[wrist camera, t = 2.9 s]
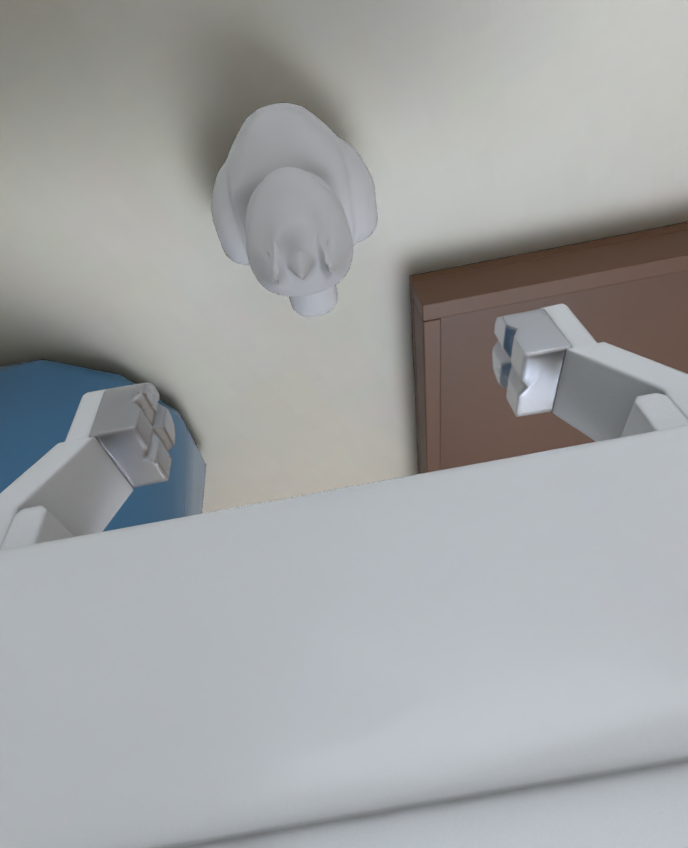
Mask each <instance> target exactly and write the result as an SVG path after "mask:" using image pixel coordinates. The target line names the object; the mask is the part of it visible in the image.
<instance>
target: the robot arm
mask: <svg viewBox="0 0 688 848" xmlns="http://www.w3.org/2000/svg"><path fill="white" fill-rule="evenodd" d="M494 333H495V335H496V337H497V338H498V342H497V343H496V344H495V345H494V347H493V349H492V364H493V371H494V374H495V377H496V379H497V381H498V383H499V385H500V386H502V387H504V388H506V389H507V393H506V399H507V401H508V403H509V404H510V406H511V408H512V410H513V412H514V414H515V416H516V417H520V416H526V415H532V414H539V413H545V412H551V411H553V412H552V413H553V414H555V415H556V416H558V417H559V418H561V419H562V420H564V421H565V422H567V423H568V424H570V425H571V426H573V427H574V428H576V429H577V430H579V431H580V432H582V433H583V434H585V435H587V436H588V437H590V438H591V439H593V440H594V441H596V442H592V443H587V444H581V445H576V446H570V447H565V448H559V449H554V450H549V451H543V452H538V453H533V454H527V455H522V456H516V457H511V458H505V459H499V460H494V461H488V462H483V463H477V464H472V465H466V466H461V467H455V468H450V469H444V470H439V471H433V472H427V473H422V474H416V475H411V476H405V477H400V478H394V479H389V480H383V481H378V482H372V483H367V484H361V485H356V486H351V487H345V488H340V489H334V490H329V491H323V492H318V493H312V494H307V495H301V496H296V497H291V498H285V499H280V500H274V501H269V502H263V503H258V504H252V505H247V506H241V507H236V508H230V509H225V510H219V511H214V512H208V513H203V514H197V515H192V516H186V517H181V518H175V519H170V520H164V521H159V522H153V523H148V524H142V525H137V526H131V527H126V528H120V529H115V530H109V531H104V532H103V530H104V529H105V528H106V526H107V525H108V524H109V522H110V521H111V520H112V518H113V517H114V516H115V514H116V513H117V512H118V510H119V509H120V508H121V506H122V505H123V504H124V502H125V501H126V500H127V498H128V497H129V496H130V494H131V493H132V492H133V490H134V489H133V488H136V487H141V486H146V485H151V484H155V483H160V482H165V481H168V479H169V473H170V467H171V462H172V459H171V457H170V455H169V454H168V452H169V450H170V449H171V448H172V447H173V446H174V443H175V427H174V422H173V419H172V416H171V414H170V412H169V410H168V409H167V408H166V407H164V406H162V405H161V404H159V403H158V401H159V396H160V394H159V392H158V391H157V389H156V387H155V386H154V384H152V383H150V382H145V383H139V384H133V385H127V386H121V387H115V388H109V389H104V390H98V391H93V392H87V393H86V394H84V395H83V396H82V399H81V401H80V404H79V406H78V409H77V412H76V414H75V417H74V419H73V422H72V424H71V427H70V430H69V432H68V435H67V437H66V440H65V442H61V443H58V444H57V445H56V446H54V447H53V448H52V449H51V450H50V451H49V452H47V453H46V454H45V455H44V456H43V457H42V458H41V459H39V460H38V461H37V462H36V463H35V464H34V465H32V466H31V467H30V468H29V469H28V470H27V471H26V472H24V473H23V474H22V475H21V476H20V477H19V478H17V479H16V480H15V481H14V482H13V483H12V484H11V485H9V486H8V487H7V488H6V489H5V490H4V491H2V492H1V493H0V848H688V374H687V373H684V372H682V371H679V370H676V369H674V368H671V367H668V366H666V365H663V364H661V363H658V362H655V361H653V360H650V359H647V358H645V357H642V356H640V355H637V354H634V353H632V352H629V351H627V350H624V349H621V348H619V347H616V346H613V345H611V344H608V343H606V342H601V343H597V342H596V341H595V339H594V338H593V337H592V336H591V335H590V333H589V332H588V331H587V330H586V329H585V327H584V326H583V325H582V324H581V322H580V321H579V320H578V319H577V318H576V316H575V315H574V314H573V313H572V312H571V310H570V309H569V308H568V307H567V306H566V305H564V304H557V305H553V306H548V307H543V308H540V309H537V310H532V311H527V312H522V313H516V314H511V315H506V316H501V317H497V319H496V322H495V328H494Z"/></svg>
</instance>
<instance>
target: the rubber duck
mask: <svg viewBox="0 0 688 848" xmlns="http://www.w3.org/2000/svg"><path fill="white" fill-rule="evenodd" d="M211 211H212V218H213V222H214V225H215V228H216V231H217V234H218V237H219V239H220V242H221V245H222V248H223V250H224V252H225V253H226V255H227V256H228V257H229V258H230V259H231V260H232V261H234V262H236V263H239V264H250V266H251V269H252V271H253V273H254V275H255V276H256V278H257V280H258V281H259V282H260V283H261V284H262V286H263V287H265V288H266V289H268V290H269V291H271V292H273V293H276V294H278V295H284V296H289V299H290V302H291V305H292V307H293V309H294V310H295V311H296V312H297V313H298V314H300V315H302V316H306V317H317V316H321V315H324V314H326V313H328V312H329V311H331V310H332V309H333V308H334V306H335V305H336V302H337V288H336V284H337V283H339V282H340V281H341V280H342V279H343V278H344V277H345V276H346V274H347V272H348V270H349V269H350V265H351V262H352V255H353V245H355V244H356V243H358V242H360V241H362V240H364V239H366V238H367V237H369V236H370V235H371V234H372V233H373V231H374V230H375V227H376V224H377V206H376V196H375V187H374V182H373V179H372V176H371V174H370V172H369V170H368V168H367V166H366V165H365V163H364V161H363V160H362V158H361V157H360V155H359V154H358V153H357V151H356V150H355V149H354V148H353V147H352V146H351V145H350V144H348V143H347V142H346V141H344V140H343V139H341V138H339V137H338V136H337V135H336V134H335V133H334V132H333V131H332V130H331V129H330V128H329V127H328V126H327V125H326V124H325V123H324V122H323V121H321V120H320V119H319V118H318V117H316V116H315V115H314V114H312V113H311V112H310V111H308V110H307V109H305V108H304V107H302V106H300V105H295V104H291V103H277V104H272V105H268V106H264V107H261V108H259V109H257V110H256V111H254V112H253V113H252V114H251V115H250V116H248V117H247V118H246V120H245V121H244V123H243V125H242V126H241V128H240V130H239V132H238V134H237V136H236V138H235V140H234V142H233V144H232V147H231V149H230V152H229V154H228V157H227V160H226V162H225V163H224V164H223V166H222V167H221V169H220V171H219V172H218V175H217V177H216V180H215V185H214V190H213V196H212V206H211Z"/></svg>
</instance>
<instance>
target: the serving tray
mask: <svg viewBox="0 0 688 848" xmlns="http://www.w3.org/2000/svg"><path fill="white" fill-rule="evenodd" d="M410 295H411V316H412V338H413V359H414V380H415V402H416V423H417V444H418V466H419V474H422V473H427V472H433V471H439V470H444V469H450V468H455V467H461V466H466V465H472V464H477V463H483V462H488V461H494V460H499V459H505V458H511V457H516V456H522V455H527V454H533V453H538V452H543V451H549V450H554V449H559V448H565V447H570V446H576V445H581V444H587V443H592V442H596V441H594V440H593V439H591V438H590V437H588V436H587V435H585V434H583V433H582V432H580V431H579V430H577V429H576V428H574V427H573V426H571V425H570V424H568V423H567V422H565V421H564V420H562V419H561V418H559V417H558V416H556V415H555V414H553V413H552V412H553V411H551V412H545V413H539V414H532V415H526V416H520V417H516V416H515V414H514V412H513V410H512V408H511V406H510V404H509V403H508V401H507V399H506V393H507V389H506V388H504V387H502V386H500V385H499V383H498V381H497V379H496V377H495V374H494V371H493V364H492V349H493V347H494V345H495V344H496V343H497V342H498V338H497V337H496V335H495V333H494V328H495V322H496V319H497V317H501V316H506V315H511V314H516V313H522V312H527V311H532V310H537V309H540V308H543V307H548V306H553V305H557V304H564V305H566V306H567V307H568V308H569V309H570V310H571V312H572V313H573V314H574V315H575V316H576V318H577V319H578V320H579V321H580V322H581V324H582V325H583V326H584V327H585V329H586V330H587V331H588V332H589V333H590V335H591V336H592V337H593V338H594V339H595V341H596V342H597V343H601V342H606V343H608V344H611V345H613V346H616V347H619V348H621V349H624V350H627V351H629V352H632V353H634V354H637V355H640V356H642V357H645V358H647V359H650V360H653V361H655V362H658V363H661V364H663V365H666V366H668V367H671V368H674V369H676V370H679V371H682V372H684V373H687V374H688V222H686V223H681V224H676V225H671V226H666V227H661V228H655V229H650V230H645V231H640V232H635V233H630V234H624V235H619V236H614V237H609V238H604V239H599V240H593V241H588V242H583V243H578V244H573V245H568V246H562V247H557V248H552V249H547V250H542V251H537V252H531V253H526V254H521V255H516V256H511V257H505V258H500V259H495V260H490V261H485V262H480V263H474V264H469V265H464V266H459V267H454V268H449V269H443V270H438V271H433V272H428V273H423V274H418V275H412V276H410Z"/></svg>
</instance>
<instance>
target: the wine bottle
mask: <svg viewBox="0 0 688 848" xmlns="http://www.w3.org/2000/svg"><path fill="white" fill-rule="evenodd" d="M133 384H135V383H133V382H131V381H130V380H128V379H127V378H125V377H124V376H122V375H118V374H113V373H108V372H103V371H98V370H93V369H88V368H83V367H78V366H73V365H69V364H64V363H59V362H54V361H49V360H44V359H41V360H35V361H30V362H24V363H19V364H14V365H8V366H3V367H0V493H1V492H2V491H4V490H5V489H6V488H7V487H8V486H9V485H11V484H12V483H13V482H14V481H15V480H16V479H17V478H19V477H20V476H21V475H22V474H23V473H24V472H26V471H27V470H28V469H29V468H30V467H31V466H32V465H34V464H35V463H36V462H37V461H38V460H39V459H41V458H42V457H43V456H44V455H45V454H46V453H47V452H49V451H50V450H51V449H52V448H53V447H54V446H56V445H57V444H58V443H61V442H65V440H66V437H67V435H68V432H69V430H70V427H71V424H72V422H73V419H74V417H75V414H76V412H77V409H78V406H79V404H80V401H81V399H82V396H83V395H84V394H86V393H87V392H93V391H98V390H104V389H109V388H115V387H121V386H127V385H133ZM158 403H159V404H161V405H162V406H164V407H166V408H167V409H168V410H169V412H170V414H171V416H172V419H173V422H174V427H175V443H174V446H173V447H172V448H171V449H170V450H169V452H168V454H169V455H170V457H171V459H172V462H171V467H170V473H169V479H168V481H165V482H160V483H155V484H151V485H146V486H141V487H136V488H133V489H134V490H133V492H132V493H131V494H130V496H129V497H128V498H127V500H126V501H125V502H124V504H123V505H122V506H121V508H120V509H119V510H118V512H117V513H116V514H115V516H114V517H113V518H112V520H111V521H110V522H109V524H108V525H107V526H106V528H105V529H104V530H103V532H104V531H109V530H115V529H120V528H126V527H131V526H137V525H142V524H148V523H153V522H159V521H164V520H170V519H175V518H181V517H186V516H192V515H197V514H202V509H203V497H204V485H205V473H206V463H205V461H204V459H203V457H202V455H201V453H200V451H199V449H198V447H197V446H196V444H195V442H194V440H193V438H192V436H191V434H190V432H189V430H188V429H187V427H186V425H185V423H184V421H183V419H182V417H181V415H180V413H179V412H178V411H177V410H176V409H174V408H173V407H171V406H169V405H168V404H166V403H165V402H163V401H161V400H160V399H159V401H158Z"/></svg>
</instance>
